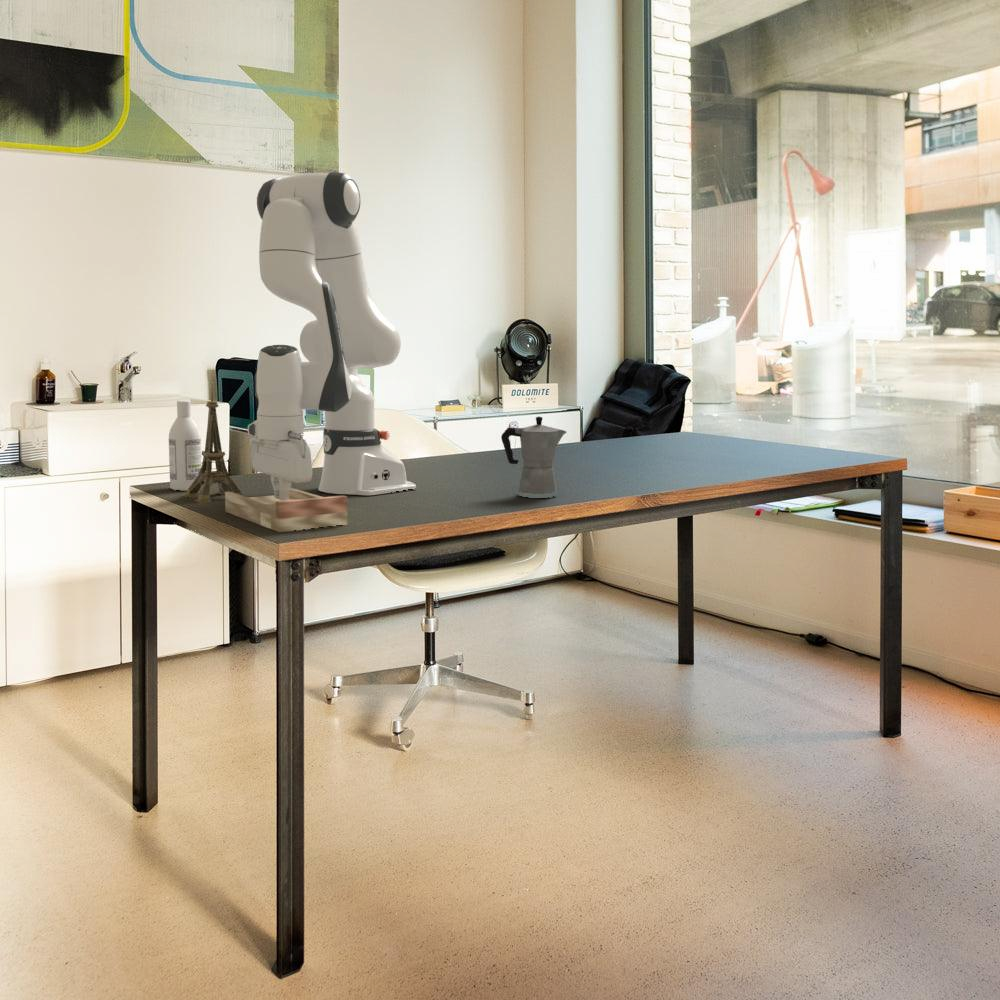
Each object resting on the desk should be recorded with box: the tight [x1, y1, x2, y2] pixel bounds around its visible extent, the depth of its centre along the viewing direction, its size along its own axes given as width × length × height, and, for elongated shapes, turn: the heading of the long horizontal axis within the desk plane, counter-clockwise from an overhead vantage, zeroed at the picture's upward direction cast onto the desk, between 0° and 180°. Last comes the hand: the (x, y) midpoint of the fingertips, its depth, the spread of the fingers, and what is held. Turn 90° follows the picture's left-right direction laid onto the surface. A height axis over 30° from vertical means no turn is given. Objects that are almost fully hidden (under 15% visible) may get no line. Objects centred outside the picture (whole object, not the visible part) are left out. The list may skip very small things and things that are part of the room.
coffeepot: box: [501, 416, 567, 494], centre depth 245 cm, size 15×9×18 cm, turn 109°
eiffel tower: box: [182, 381, 243, 504], centre depth 234 cm, size 10×11×25 cm
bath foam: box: [168, 399, 203, 492], centre depth 245 cm, size 7×7×20 cm
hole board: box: [224, 486, 348, 533], centre depth 213 cm, size 14×25×6 cm, turn 37°
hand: (281, 499), depth 214 cm, fingers closed
